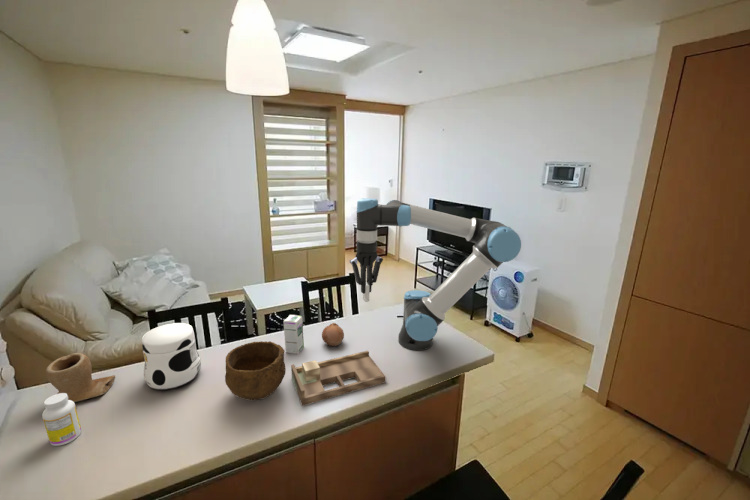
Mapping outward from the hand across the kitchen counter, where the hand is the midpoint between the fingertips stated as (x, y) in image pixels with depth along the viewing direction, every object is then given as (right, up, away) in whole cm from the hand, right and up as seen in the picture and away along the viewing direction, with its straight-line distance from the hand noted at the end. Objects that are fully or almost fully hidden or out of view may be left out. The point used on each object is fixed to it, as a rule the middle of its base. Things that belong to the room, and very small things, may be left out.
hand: (366, 300), depth 130 cm
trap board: (-10, -27, -8) cm, 30 cm away
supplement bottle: (-83, -33, -36) cm, 96 cm away
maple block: (-19, -25, -11) cm, 33 cm away
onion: (-15, -21, +15) cm, 30 cm away
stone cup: (-92, -29, -20) cm, 98 cm away
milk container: (-68, -27, -10) cm, 74 cm away
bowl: (-36, -29, -16) cm, 49 cm away
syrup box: (-30, -22, +10) cm, 39 cm away
